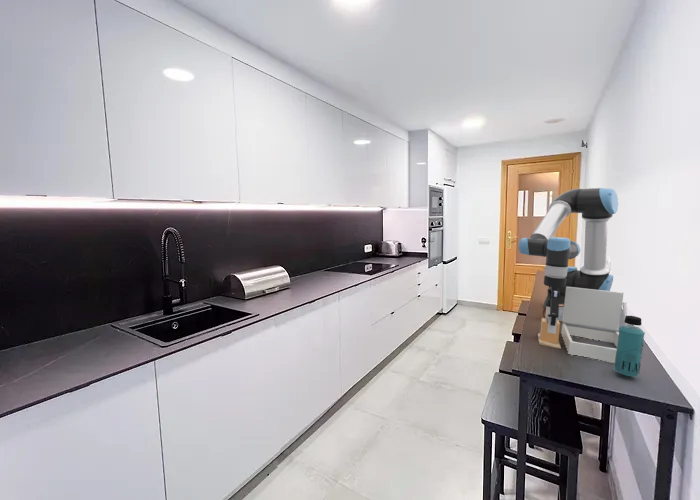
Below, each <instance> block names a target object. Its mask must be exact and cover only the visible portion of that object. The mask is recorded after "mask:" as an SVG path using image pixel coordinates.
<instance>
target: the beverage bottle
mask: <svg viewBox="0 0 700 500" xmlns="http://www.w3.org/2000/svg"><path fill="white" fill-rule="evenodd" d="M624 322H625V323H627V324H628V325H624V324H623V325H622V326H619V336H618V344H617V347H616V349H617V351H616V355H615V356H616V358H615V363H614V371H615V372H617V373H619V374H621V375H624V376H628V377H638V376H639V375H640V371H641V366H642V363H641V361H642V355H643V348H644V341H645V339H644V338H645V331H644V330H643V329H642V328H641V327H640V326H642V318H641V317H638V316H635V315H627V316H626V317H625V320H624Z"/></svg>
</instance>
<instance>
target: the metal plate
mask: <svg viewBox="0 0 700 500" xmlns="http://www.w3.org/2000/svg"><path fill="white" fill-rule="evenodd" d="M537 338H538V344H539V346H543V347H546V348H547V347H548V348H551V349H552V348H553V349H558V348H559V350H562V347H561V344H560V341H559V339H558V343H552V342H546V341H541V340H540V332H537Z"/></svg>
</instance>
